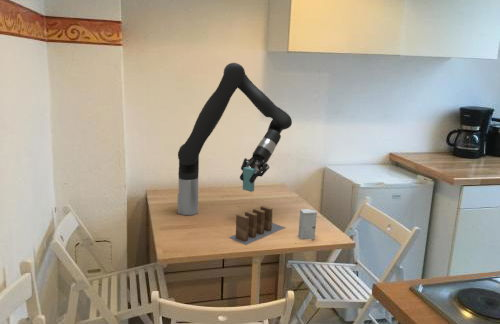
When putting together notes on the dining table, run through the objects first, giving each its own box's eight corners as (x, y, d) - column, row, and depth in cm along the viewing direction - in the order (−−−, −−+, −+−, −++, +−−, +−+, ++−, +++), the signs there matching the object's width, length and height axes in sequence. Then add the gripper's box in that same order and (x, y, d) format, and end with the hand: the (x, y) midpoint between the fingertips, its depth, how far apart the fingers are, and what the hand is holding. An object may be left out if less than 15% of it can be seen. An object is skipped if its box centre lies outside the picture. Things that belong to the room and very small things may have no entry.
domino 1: (239, 236, 175) (239, 213, 173) (248, 240, 172) (248, 217, 170) (235, 238, 174) (236, 215, 171) (244, 241, 170) (245, 218, 168)
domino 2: (245, 188, 190) (246, 166, 188) (254, 190, 187) (254, 169, 185) (242, 189, 189) (243, 167, 186) (251, 191, 185) (251, 169, 183)
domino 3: (247, 233, 179) (248, 210, 176) (256, 236, 176) (257, 214, 173) (244, 234, 177) (244, 212, 175) (252, 238, 174) (253, 215, 172)
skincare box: (301, 240, 175) (303, 213, 172) (297, 236, 179) (299, 209, 176) (315, 239, 176) (317, 212, 173) (311, 235, 180) (313, 208, 177)
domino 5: (262, 227, 186) (263, 205, 184) (271, 230, 183) (272, 208, 180) (259, 228, 185) (260, 206, 182) (268, 231, 181) (269, 209, 179)
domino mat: (268, 222, 193) (268, 221, 193) (285, 228, 186) (285, 227, 186) (227, 238, 174) (228, 237, 174) (245, 246, 168) (245, 245, 167)
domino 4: (255, 230, 182) (255, 208, 180) (263, 233, 179) (264, 211, 177) (252, 231, 181) (252, 209, 179) (260, 234, 178) (261, 212, 175)
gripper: (248, 142, 193) (230, 173, 187) (273, 147, 184) (254, 179, 178) (256, 152, 198) (237, 182, 192) (280, 157, 189) (261, 189, 183)
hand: (245, 180), depth 185 cm, fingers closed on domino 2, 5 cm apart
